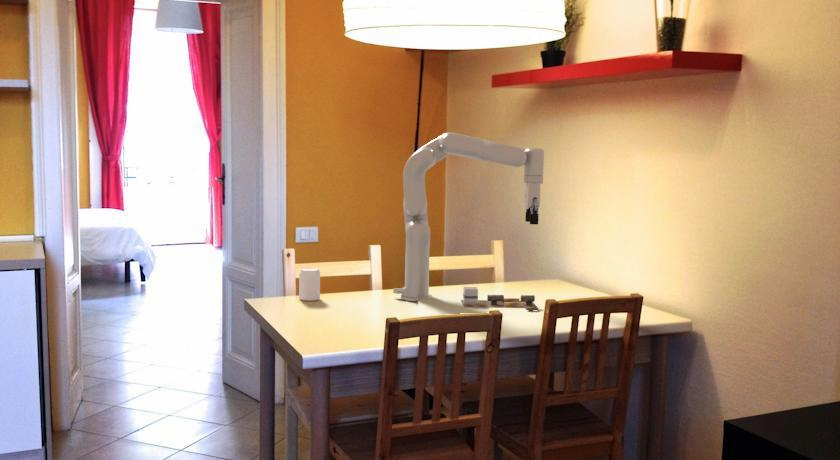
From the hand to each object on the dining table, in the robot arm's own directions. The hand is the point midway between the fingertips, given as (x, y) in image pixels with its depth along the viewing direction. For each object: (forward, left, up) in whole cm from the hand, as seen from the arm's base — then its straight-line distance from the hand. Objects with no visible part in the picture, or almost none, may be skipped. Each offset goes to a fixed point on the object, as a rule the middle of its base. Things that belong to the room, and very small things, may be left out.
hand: (531, 222), depth 316 cm
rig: (-14, -13, -31) cm, 37 cm away
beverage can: (-87, -4, -31) cm, 93 cm away
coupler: (-25, -13, -30) cm, 41 cm away
